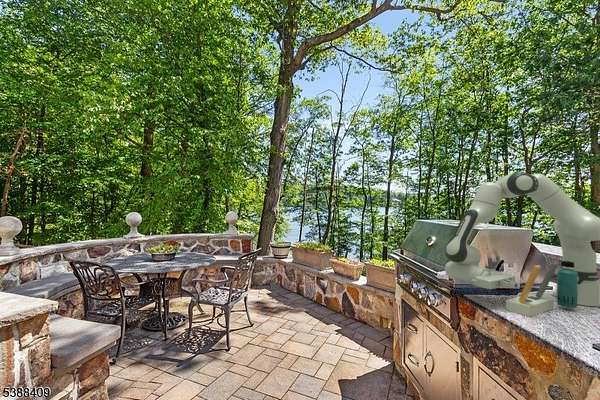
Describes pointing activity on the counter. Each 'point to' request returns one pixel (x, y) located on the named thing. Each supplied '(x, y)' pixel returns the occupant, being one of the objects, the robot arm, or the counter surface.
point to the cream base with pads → (529, 305)
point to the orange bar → (529, 283)
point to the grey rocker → (546, 279)
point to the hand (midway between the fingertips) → (516, 285)
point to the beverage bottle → (567, 286)
